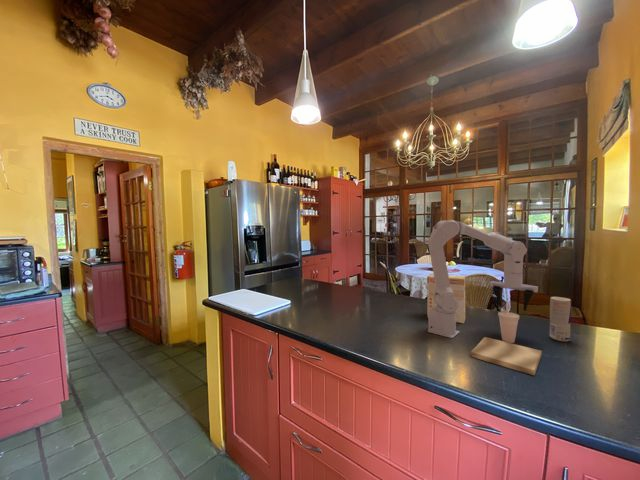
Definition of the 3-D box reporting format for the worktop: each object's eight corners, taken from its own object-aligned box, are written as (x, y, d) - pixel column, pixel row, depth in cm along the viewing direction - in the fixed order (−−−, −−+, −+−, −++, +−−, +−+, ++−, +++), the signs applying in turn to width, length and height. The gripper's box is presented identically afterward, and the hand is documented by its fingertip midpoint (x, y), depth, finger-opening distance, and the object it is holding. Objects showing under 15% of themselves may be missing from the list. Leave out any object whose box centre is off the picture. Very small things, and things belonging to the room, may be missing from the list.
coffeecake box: (465, 318, 120) (465, 275, 119) (464, 323, 114) (464, 278, 113) (430, 313, 128) (429, 273, 127) (427, 318, 122) (427, 275, 121)
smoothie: (493, 337, 99) (493, 300, 99) (509, 336, 100) (510, 299, 99) (506, 344, 93) (507, 305, 92) (523, 343, 94) (524, 304, 93)
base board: (470, 356, 85) (470, 351, 85) (484, 340, 97) (484, 336, 97) (534, 375, 74) (534, 370, 74) (541, 355, 85) (541, 350, 85)
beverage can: (574, 342, 94) (575, 300, 93) (555, 341, 95) (556, 300, 94) (563, 336, 99) (564, 296, 99) (545, 335, 100) (546, 296, 100)
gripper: (539, 273, 98) (538, 309, 99) (493, 269, 108) (492, 302, 109) (536, 275, 93) (535, 314, 94) (488, 271, 103) (488, 305, 104)
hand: (512, 308), depth 101 cm, fingers open, 7 cm apart
